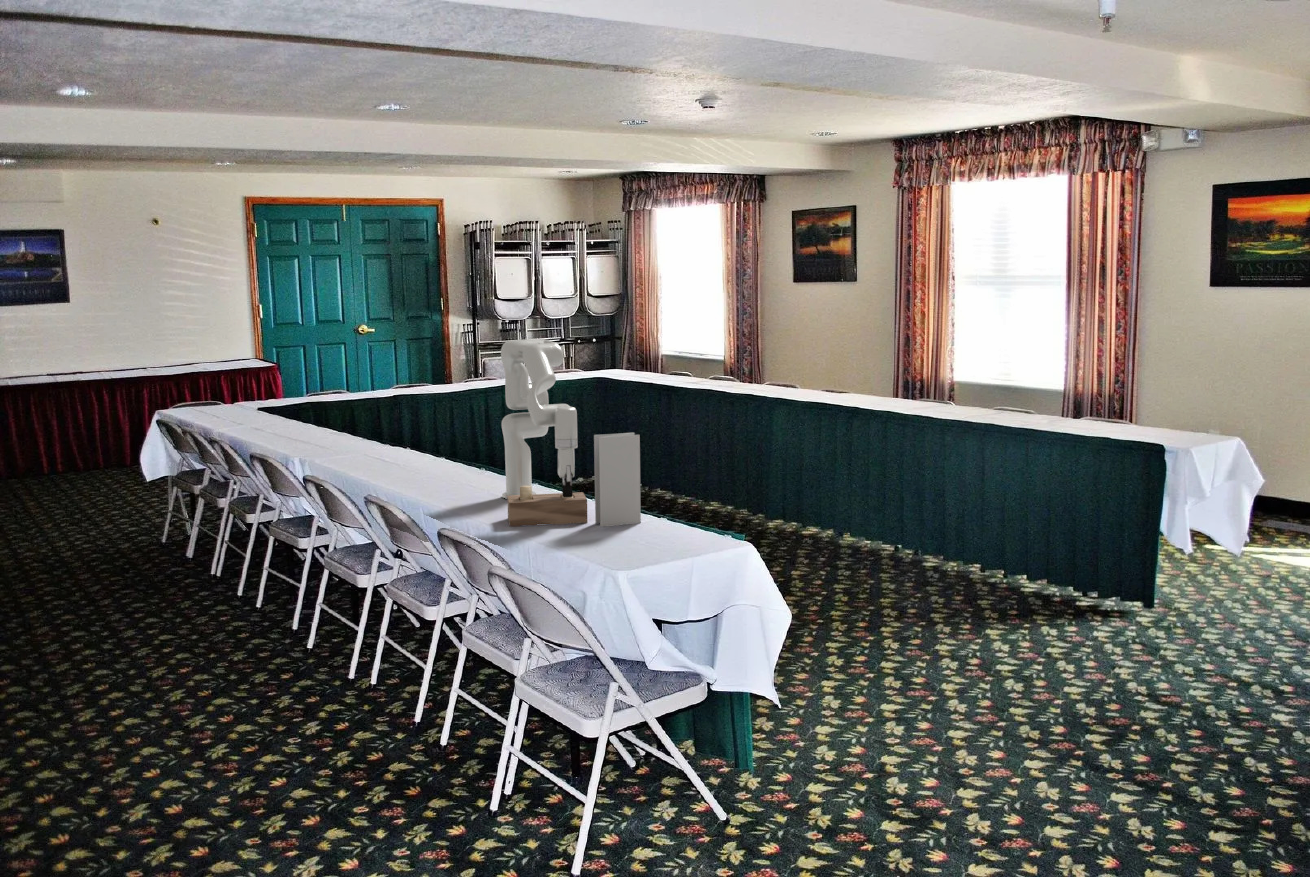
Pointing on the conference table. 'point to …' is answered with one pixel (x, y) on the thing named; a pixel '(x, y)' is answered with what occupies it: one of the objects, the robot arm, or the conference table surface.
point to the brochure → (617, 479)
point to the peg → (526, 493)
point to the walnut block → (547, 509)
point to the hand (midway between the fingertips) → (567, 496)
